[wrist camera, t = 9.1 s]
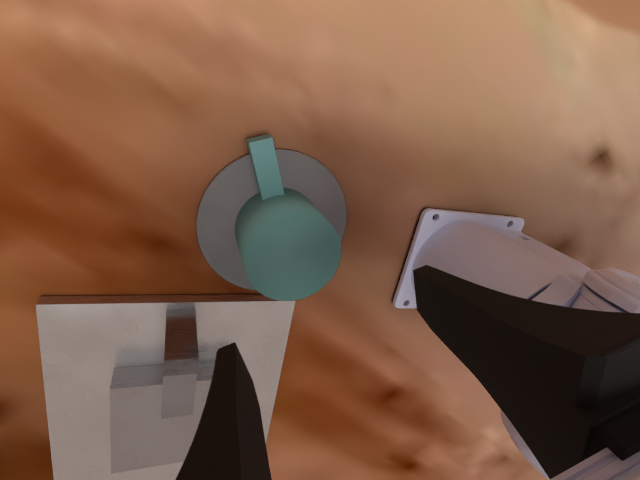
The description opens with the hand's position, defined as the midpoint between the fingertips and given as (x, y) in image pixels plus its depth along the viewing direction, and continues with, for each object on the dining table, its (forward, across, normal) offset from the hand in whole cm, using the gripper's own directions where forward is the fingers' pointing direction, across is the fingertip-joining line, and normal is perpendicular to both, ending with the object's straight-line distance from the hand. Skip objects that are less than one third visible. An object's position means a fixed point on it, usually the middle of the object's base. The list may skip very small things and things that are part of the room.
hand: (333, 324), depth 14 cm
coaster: (+10, 0, 0) cm, 10 cm away
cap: (+9, 0, -1) cm, 10 cm away
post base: (+10, +10, +10) cm, 17 cm away
